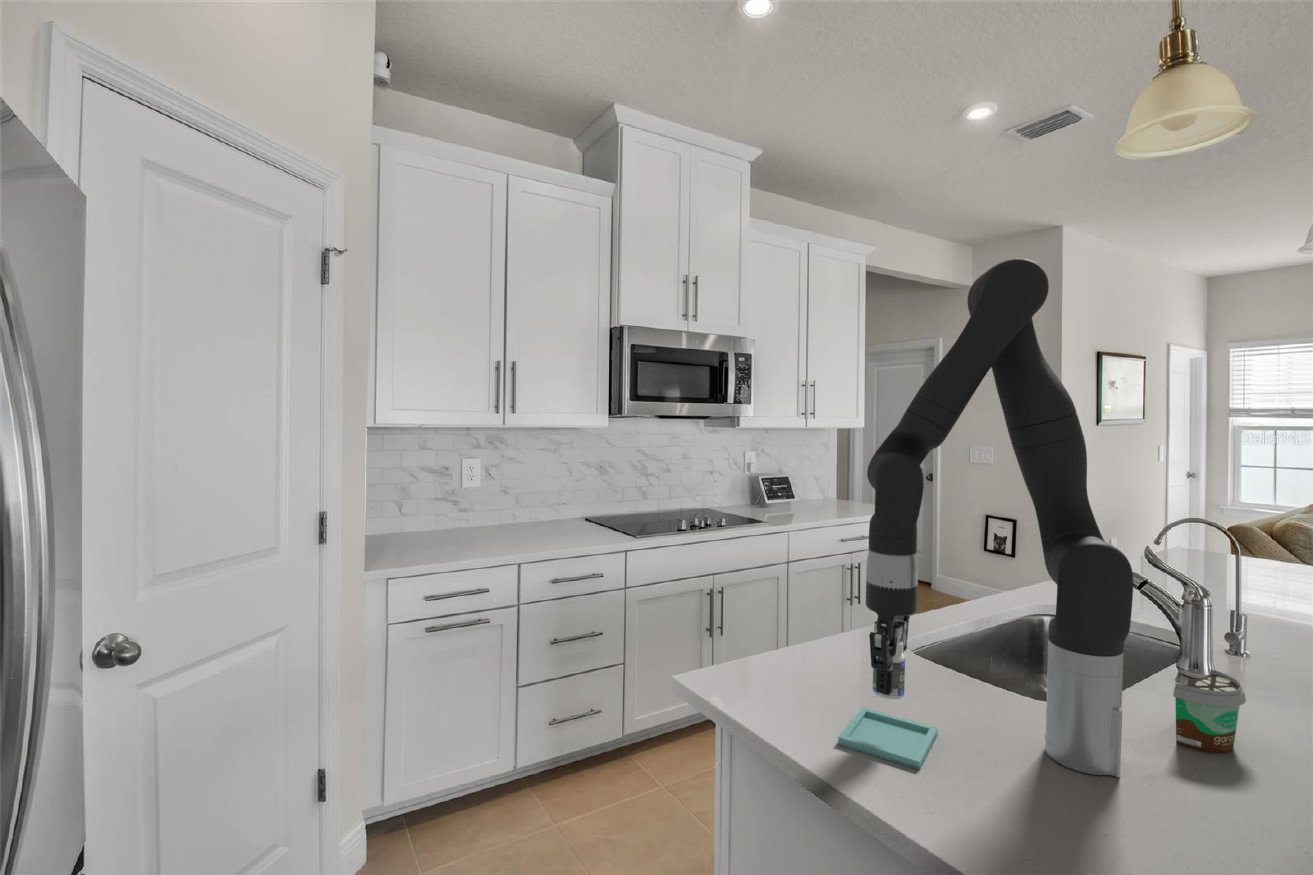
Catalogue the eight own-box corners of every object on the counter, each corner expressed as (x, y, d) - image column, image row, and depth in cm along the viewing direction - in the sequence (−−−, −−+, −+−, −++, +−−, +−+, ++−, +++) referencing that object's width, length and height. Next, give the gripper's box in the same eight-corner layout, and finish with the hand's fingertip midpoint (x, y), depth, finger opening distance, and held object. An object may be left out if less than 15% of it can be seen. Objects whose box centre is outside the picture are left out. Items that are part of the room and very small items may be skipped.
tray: (937, 735, 101) (937, 727, 101) (919, 770, 91) (920, 761, 91) (862, 714, 108) (862, 707, 108) (838, 744, 98) (838, 737, 98)
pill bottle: (906, 701, 97) (908, 647, 96) (874, 698, 98) (875, 645, 97) (901, 688, 101) (902, 636, 101) (870, 685, 102) (871, 634, 102)
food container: (1221, 767, 92) (1224, 699, 92) (1171, 746, 98) (1173, 683, 97) (1258, 746, 98) (1261, 682, 97) (1209, 728, 103) (1212, 668, 103)
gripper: (904, 594, 91) (901, 711, 91) (927, 573, 102) (924, 677, 103) (852, 585, 95) (850, 697, 96) (880, 566, 107) (877, 665, 107)
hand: (888, 686), depth 99 cm, fingers closed on pill bottle, 4 cm apart
